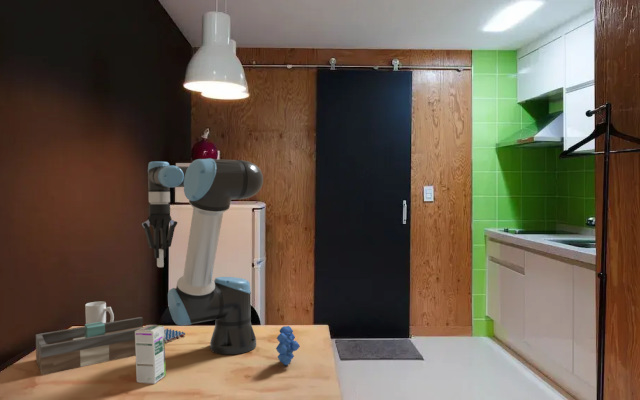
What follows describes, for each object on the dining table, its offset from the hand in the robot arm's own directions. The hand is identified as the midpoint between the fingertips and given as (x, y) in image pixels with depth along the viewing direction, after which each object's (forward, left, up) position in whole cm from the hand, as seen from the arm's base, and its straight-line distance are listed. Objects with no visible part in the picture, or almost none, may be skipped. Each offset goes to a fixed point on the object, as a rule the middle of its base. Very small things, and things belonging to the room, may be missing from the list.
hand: (160, 266), depth 172 cm
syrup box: (-43, +16, -25) cm, 52 cm away
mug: (+7, +19, -25) cm, 32 cm away
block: (-13, +25, -19) cm, 34 cm away
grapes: (-58, -20, -25) cm, 66 cm away
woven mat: (-9, +1, -25) cm, 27 cm away
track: (-13, +24, -24) cm, 37 cm away
